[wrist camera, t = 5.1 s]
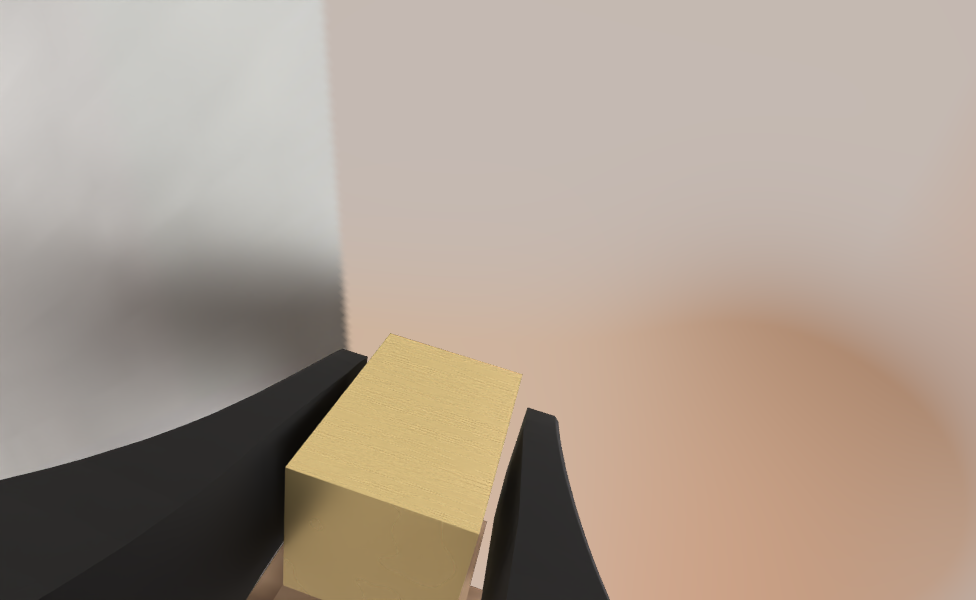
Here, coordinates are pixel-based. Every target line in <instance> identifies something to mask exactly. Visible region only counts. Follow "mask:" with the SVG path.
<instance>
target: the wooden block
mask: <svg viewBox="0 0 976 600" xmlns="http://www.w3.org/2000/svg"><path fill="white" fill-rule="evenodd" d="M521 378H522V374H519V373H516V372H513V371H510V370H506V369H503V368H500V367H497V366H494V365H491V364H487V363H484V362H481V361H478V360H475V359H471V358H468V357H465V356H462V355H459V354H455V353H452V352H449V351H446V350H442V349H439V348H436V347H433V346H430V345H426V344H423V343H420V342H417V341H413V340H410V339H407V338H404V337H401V336H397V335H394V334H391V333H390V335H389V336H388V337H387V338H386V340H385V341H384V342H383V344H382V345H381V346H380V347H379V349H378V350H377V351H376V353H375V354H374V355H373V356H372V358H371V359H370V360H369V361H368V363H367V364H366V365H365V366H364V368H363V369H362V370H361V372H360V373H359V374H358V375H357V377H356V378H355V379H354V380H353V382H352V383H351V384H350V386H349V387H348V388H347V389H346V391H345V392H344V393H343V394H342V396H341V397H340V398H339V400H338V401H337V402H336V403H335V405H334V406H333V407H332V409H331V410H330V411H329V412H328V414H327V415H326V416H325V417H324V419H323V420H322V421H321V423H320V424H319V425H318V426H317V428H316V429H315V430H314V431H313V433H312V434H311V435H310V437H309V438H308V439H307V440H306V442H305V443H304V444H303V445H302V447H301V448H300V449H299V451H298V452H297V453H296V454H295V456H294V457H293V458H292V459H291V461H290V462H289V463H288V465H287V466H286V467H285V510H284V560H283V585H284V586H286V587H289V588H292V589H294V590H297V591H300V592H303V593H305V594H308V595H311V596H313V597H316V598H319V599H322V600H458V599H459V596H460V593H461V590H462V587H463V584H464V580H465V577H466V574H467V571H468V568H469V565H470V562H471V558H472V555H473V552H474V549H475V546H476V543H477V540H478V537H479V533H480V530H481V526H482V522H483V518H484V515H485V511H486V507H487V504H488V500H489V496H490V493H491V489H492V485H493V481H494V477H495V474H496V470H497V467H498V463H499V459H500V456H501V452H502V448H503V445H504V441H505V437H506V434H507V430H508V426H509V422H510V419H511V415H512V411H513V408H514V404H515V400H516V397H517V393H518V389H519V386H520V382H521Z"/></svg>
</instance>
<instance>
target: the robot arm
mask: <svg viewBox="0 0 976 600" xmlns="http://www.w3.org/2000/svg"><path fill="white" fill-rule="evenodd" d="M367 358H368V357H367V356H364V355H360V354H357V353H354V352H351V351H348V350H345V349H341V350H339V351H337V352H335V353H333V354H331V355H329V356H327V357H325V358H323V359H322V360H320V361H318V362H316V363H314V364H312V365H310V366H309V367H307V368H305V369H303V370H301V371H299V372H297V373H296V374H294V375H292V376H290V377H288V378H286V379H284V380H282V381H280V382H278V383H276V384H274V385H272V386H270V387H268V388H266V389H264V390H263V391H261V392H259V393H257V394H255V395H252V396H250V397H248V398H246V399H244V400H242V401H239V402H237V403H235V404H233V405H231V406H229V407H226V408H224V409H222V410H220V411H218V412H216V413H213V414H211V415H209V416H206V417H204V418H201V419H199V420H196V421H194V422H191V423H189V424H186V425H184V426H181V427H178V428H176V429H173V430H170V431H168V432H165V433H162V434H160V435H157V436H154V437H151V438H148V439H145V440H143V441H139V442H136V443H133V444H130V445H127V446H123V447H120V448H117V449H114V450H110V451H107V452H104V453H101V454H98V455H94V456H91V457H88V458H85V459H81V460H78V461H74V462H71V463H67V464H63V465H59V466H55V467H52V468H48V469H44V470H40V471H36V472H32V473H28V474H24V475H20V476H16V477H11V478H7V479H3V480H0V600H246V599H247V598H248V596H249V594H250V592H251V591H252V589H253V587H254V586H255V584H256V582H257V581H258V579H259V577H260V575H261V574H262V572H263V571H264V569H265V568H266V566H267V564H268V563H269V561H270V560H271V558H272V557H273V555H274V554H275V552H276V551H277V549H278V548H279V547H280V545H281V544H282V542H283V541H284V510H285V467H286V466H287V465H288V463H289V462H290V461H291V459H292V458H293V457H294V456H295V454H296V453H297V452H298V451H299V449H300V448H301V447H302V445H303V444H304V443H305V442H306V440H307V439H308V438H309V437H310V435H311V434H312V433H313V431H314V430H315V429H316V428H317V426H318V425H319V424H320V423H321V421H322V420H323V419H324V417H325V416H326V415H327V414H328V412H329V411H330V410H331V409H332V407H333V406H334V405H335V403H336V402H337V401H338V400H339V398H340V397H341V396H342V394H343V393H344V392H345V391H346V389H347V388H348V387H349V386H350V384H351V383H352V382H353V380H354V379H355V378H356V377H357V375H358V374H359V373H360V372H361V370H362V369H363V368H364V366H365V365H366V364H367ZM481 600H610V599H609V597H608V594H607V592H606V589H605V587H604V585H603V582H602V580H601V578H600V575H599V572H598V570H597V567H596V565H595V562H594V560H593V557H592V554H591V551H590V549H589V546H588V543H587V540H586V537H585V534H584V531H583V528H582V525H581V522H580V519H579V516H578V512H577V509H576V506H575V502H574V498H573V494H572V491H571V487H570V483H569V480H568V475H567V471H566V467H565V462H564V458H563V452H562V447H561V441H560V434H559V425H558V421H557V419H556V417H555V416H553V415H549V414H546V413H543V412H540V411H537V410H534V409H531V408H527V411H526V414H525V417H524V420H523V423H522V426H521V429H520V432H519V435H518V438H517V441H516V444H515V447H514V450H513V453H512V456H511V460H510V462H509V465H508V469H507V472H506V475H505V479H504V483H503V486H502V490H501V494H500V498H499V501H498V505H497V509H496V513H495V517H494V523H493V529H492V536H491V541H490V547H489V554H488V560H487V566H486V573H485V579H484V585H483V591H482V598H481Z"/></svg>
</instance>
